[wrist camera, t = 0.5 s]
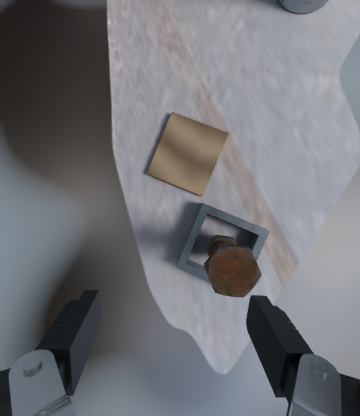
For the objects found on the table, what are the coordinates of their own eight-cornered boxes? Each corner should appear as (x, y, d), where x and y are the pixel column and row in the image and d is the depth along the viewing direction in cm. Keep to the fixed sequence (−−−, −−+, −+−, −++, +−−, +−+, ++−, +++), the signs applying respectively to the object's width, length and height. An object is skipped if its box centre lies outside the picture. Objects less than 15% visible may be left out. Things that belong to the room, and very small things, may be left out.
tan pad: (172, 114, 38) (171, 111, 37) (227, 135, 37) (228, 133, 36) (148, 174, 38) (146, 173, 37) (202, 196, 38) (202, 196, 37)
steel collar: (202, 203, 38) (202, 203, 35) (264, 228, 37) (269, 230, 34) (177, 262, 38) (175, 267, 35) (238, 289, 37) (241, 296, 34)
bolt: (221, 268, 37) (235, 310, 22) (197, 250, 38) (195, 278, 23) (243, 241, 37) (271, 265, 22) (218, 223, 37) (230, 233, 22)
